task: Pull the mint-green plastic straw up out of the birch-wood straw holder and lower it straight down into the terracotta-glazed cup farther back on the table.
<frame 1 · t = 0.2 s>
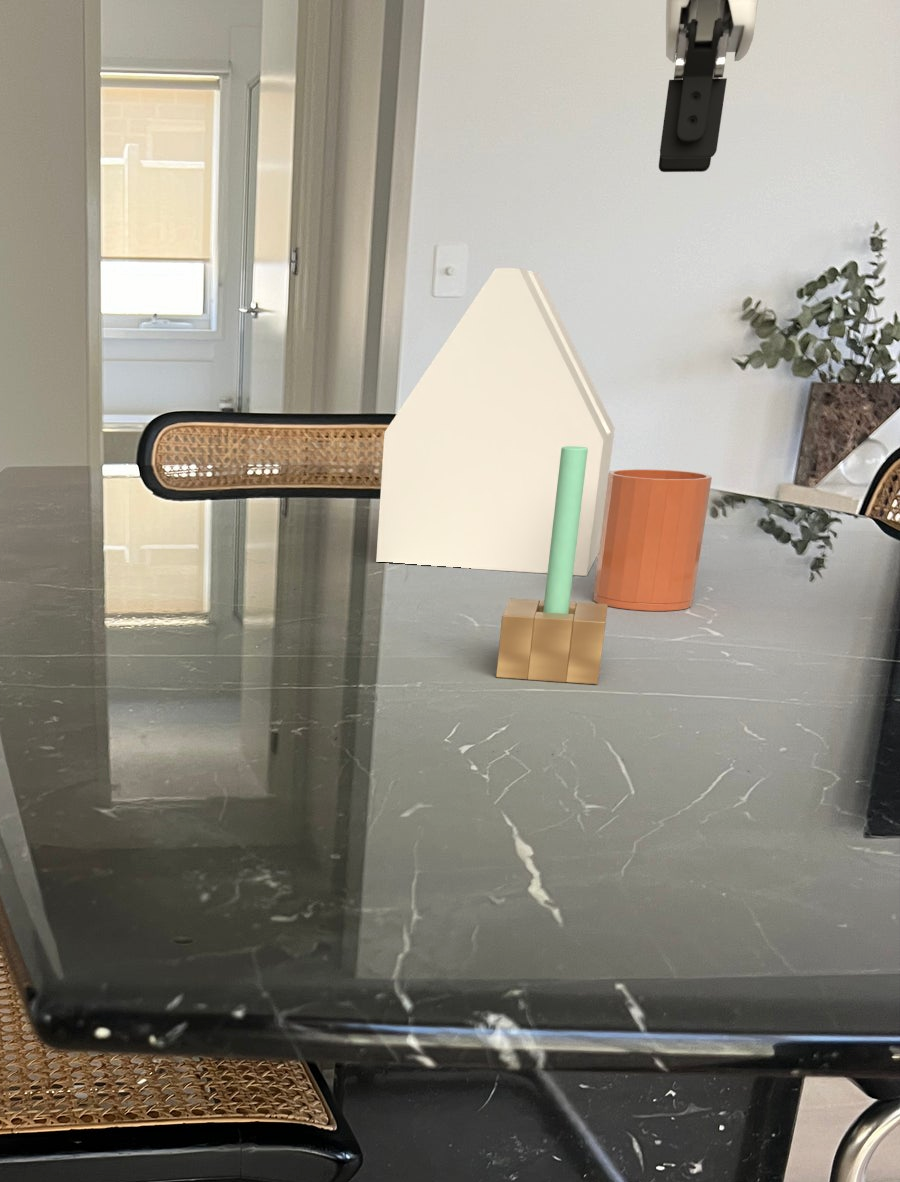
hand: (685, 164, 91), 30 cm above the table, tool pointing down, fingers open, 9 cm apart
straw: (561, 562, 94), in the straw holder
white house shaped block: (490, 559, 141), on the table
straw holder: (549, 670, 97), on the table
cup: (642, 602, 120), on the table
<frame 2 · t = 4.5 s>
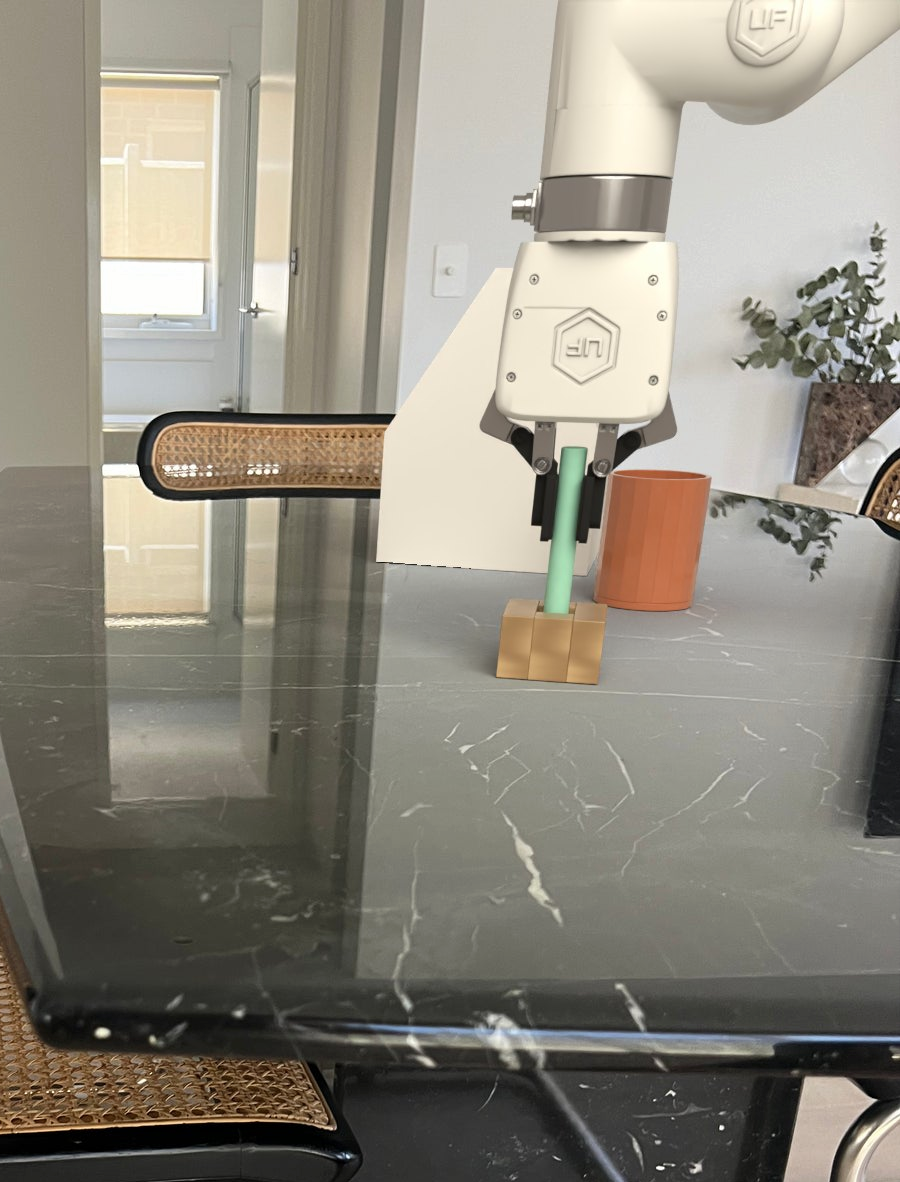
hand: (564, 537, 93), 9 cm above the table, tool pointing down, fingers closed on straw, 1 cm apart
straw: (561, 562, 94), in the straw holder, touching gripper
everything else where it was.
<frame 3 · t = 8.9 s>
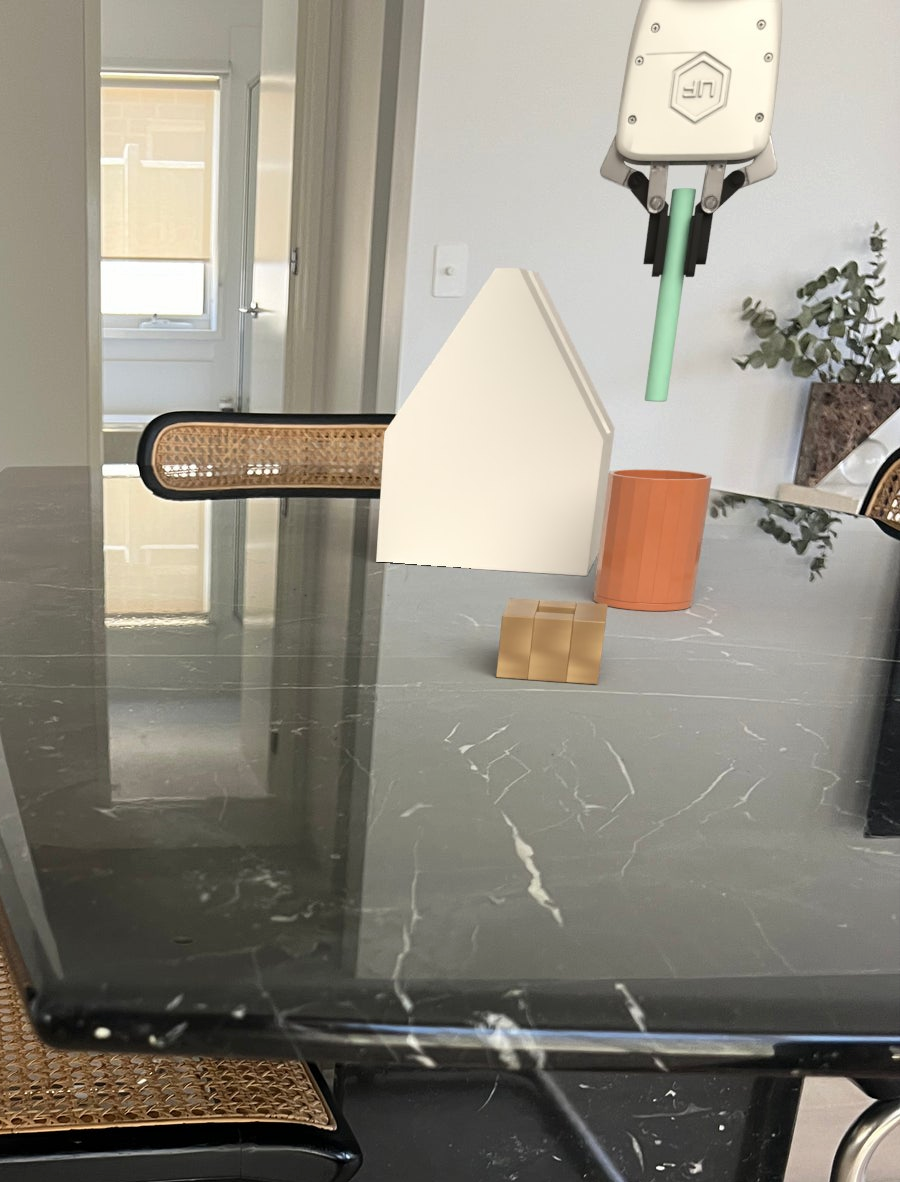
hand: (672, 274, 105), 24 cm above the table, tool pointing down, fingers closed on straw, 1 cm apart
straw: (669, 297, 106), point 23 cm above the table, touching gripper
everything else where it was.
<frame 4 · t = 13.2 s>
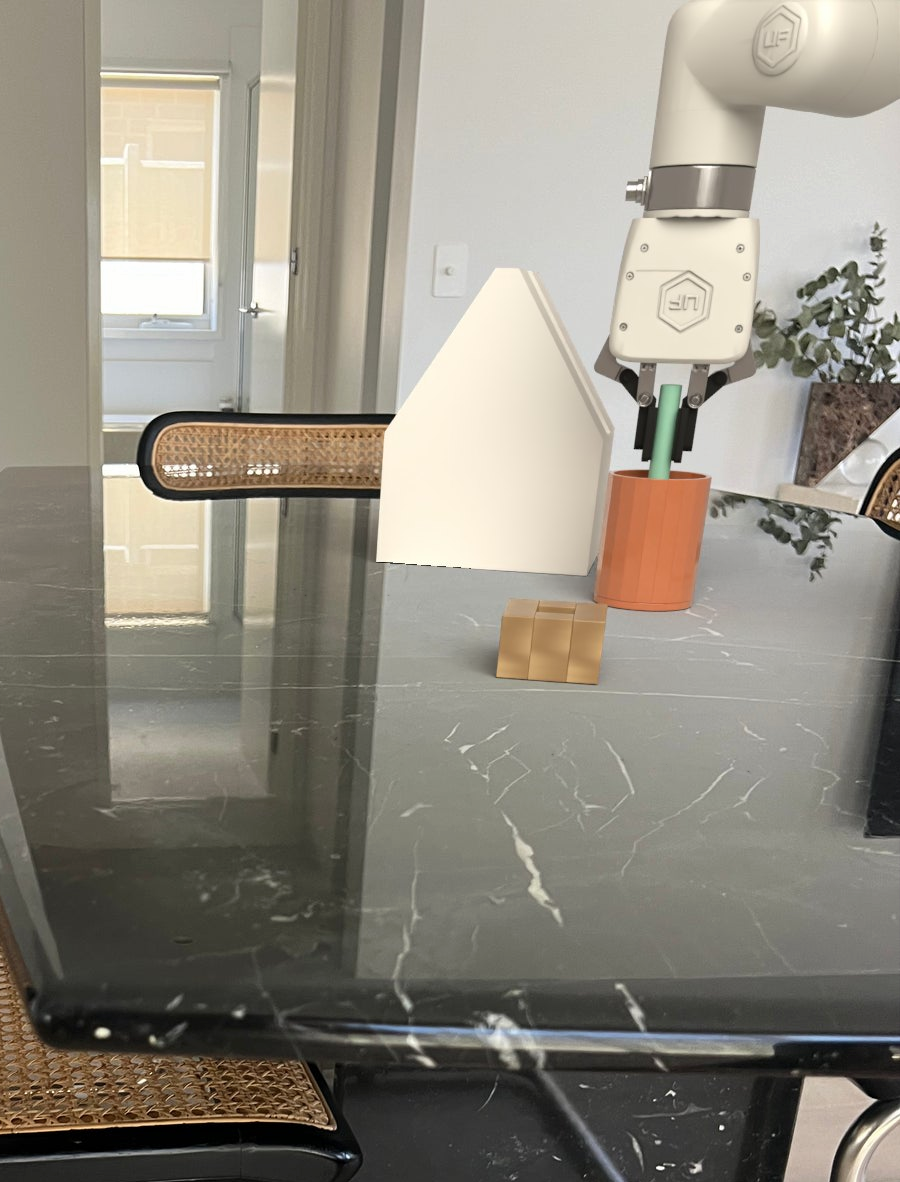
hand: (661, 459, 115), 11 cm above the table, tool pointing down, fingers closed on straw, 1 cm apart
straw: (658, 479, 116), in the cup, point 10 cm above the table, touching gripper
everything else where it was.
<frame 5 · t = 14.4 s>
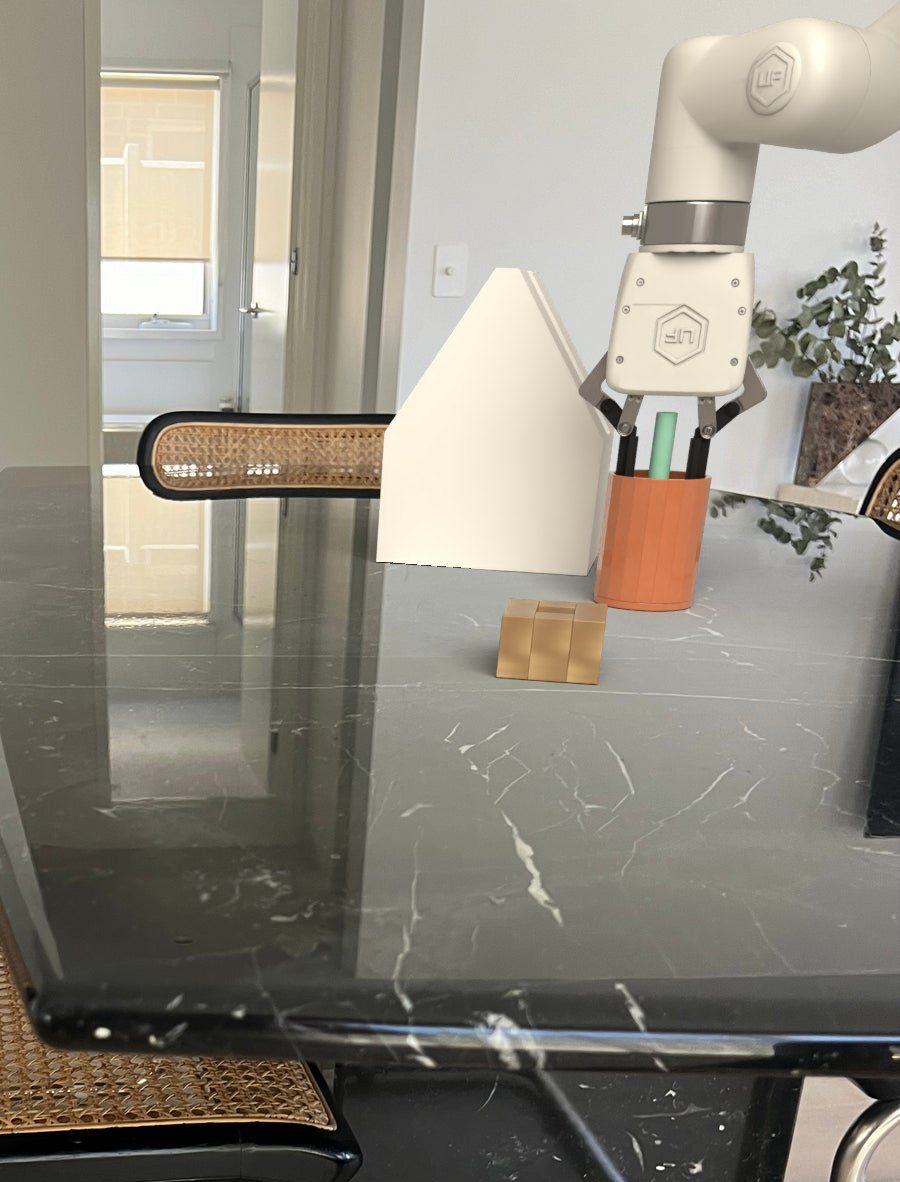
hand: (657, 487, 116), 9 cm above the table, tool pointing down, fingers closed on cup, 4 cm apart
straw: (654, 505, 117), in the cup, point 8 cm above the table
everything else where it was.
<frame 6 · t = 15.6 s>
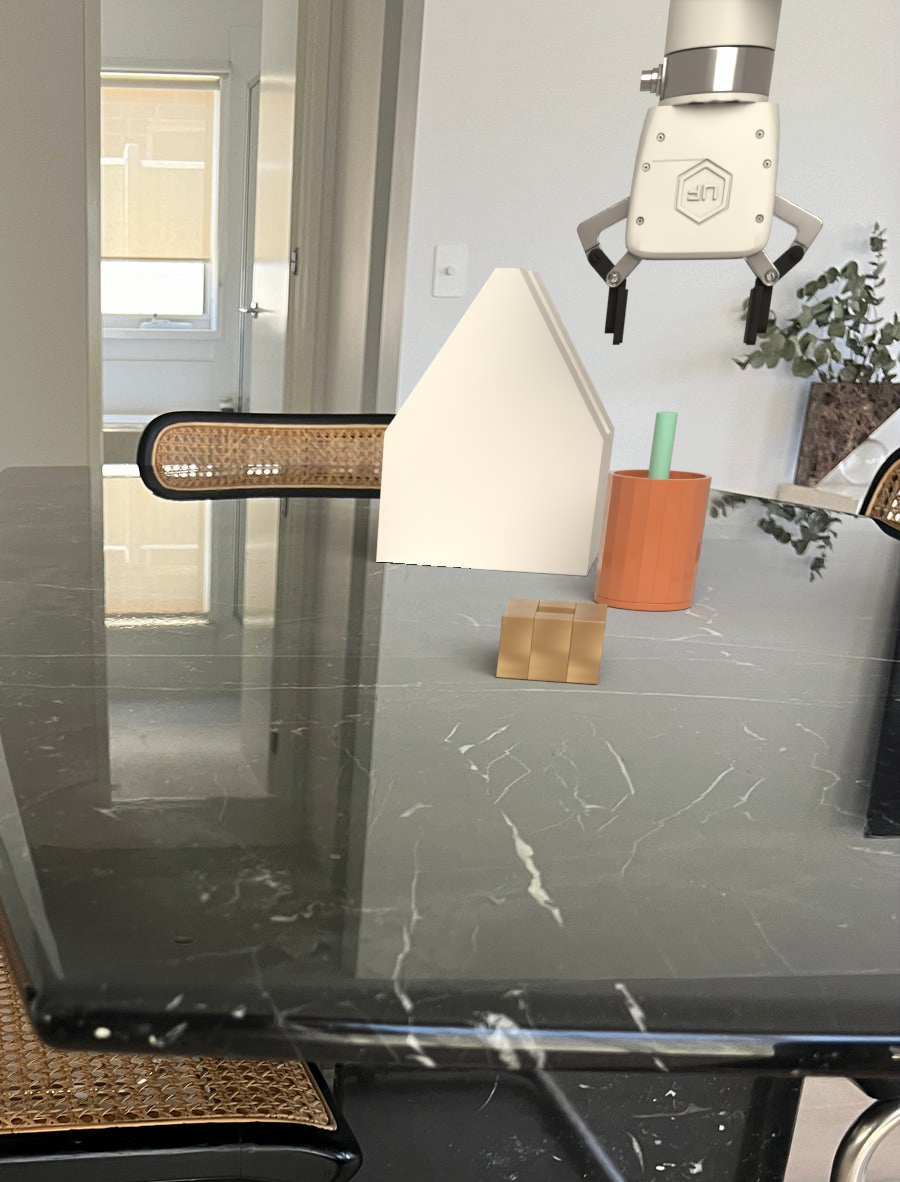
hand: (682, 344, 112), 19 cm above the table, tool pointing down, fingers open, 9 cm apart
nothing on the table moved.
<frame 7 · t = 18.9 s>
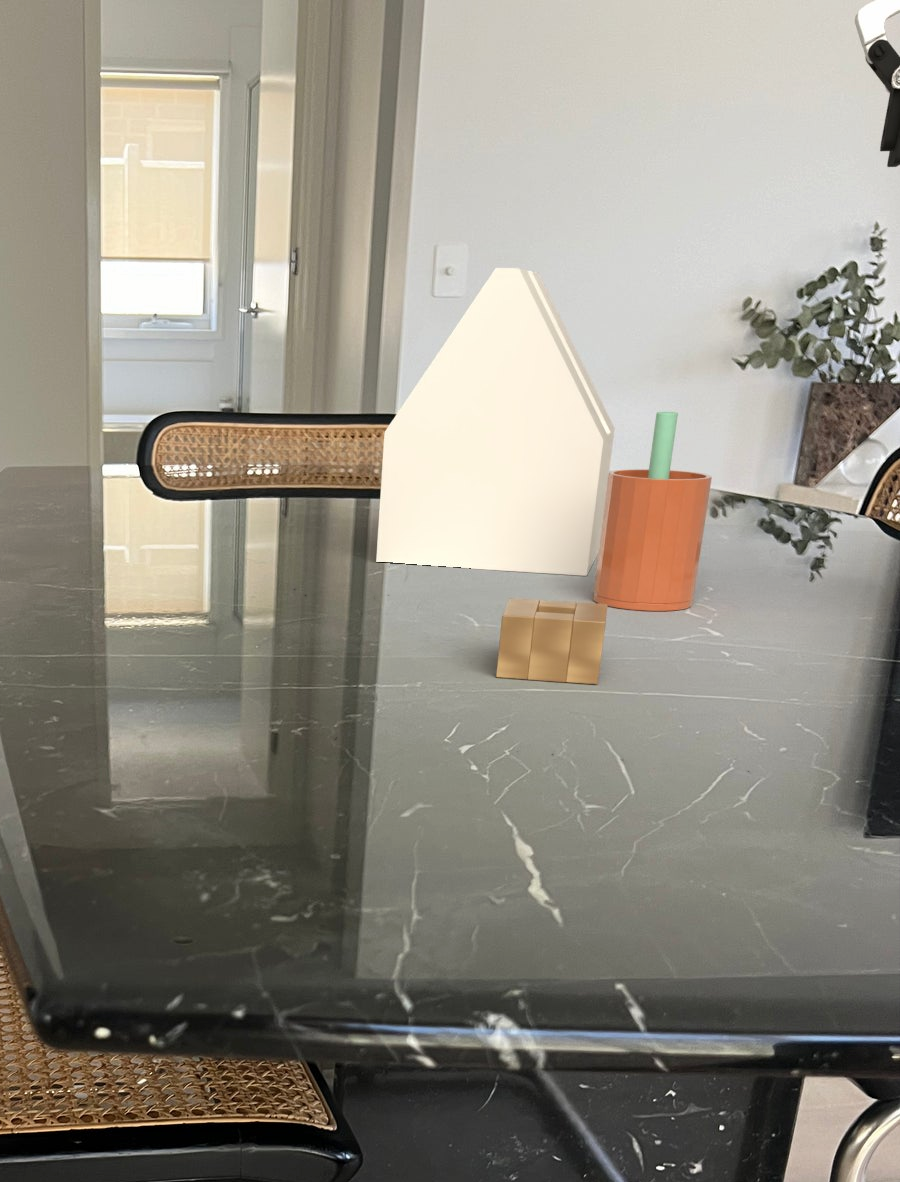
nothing on the table moved.
at the end: straw 0.1 cm off-centre in the cup, point 7.6 cm above the cup's base; the gripper is holding nothing; straw moved 28.7 cm from its start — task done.
